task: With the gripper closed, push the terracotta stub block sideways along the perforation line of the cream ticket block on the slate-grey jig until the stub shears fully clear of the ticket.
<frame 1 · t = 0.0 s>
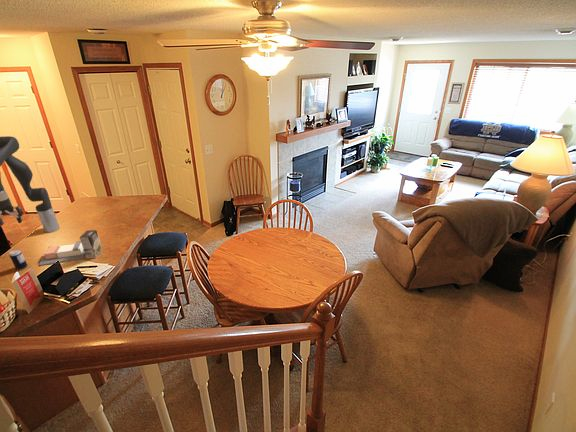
hand: (11, 223, 175), 29 cm above the table, fingers open, 8 cm apart
coffee box: (94, 254, 200), on the table
beverage can: (22, 268, 186), on the table
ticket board: (65, 254, 199), on the table
stub: (52, 252, 195), point 3 cm above the table, slide at 0.0 cm
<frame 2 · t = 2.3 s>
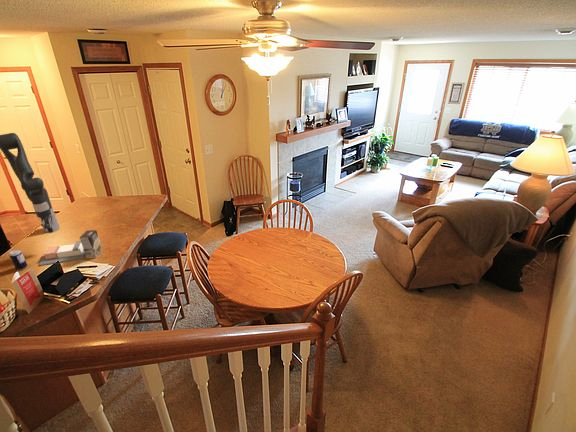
hand: (51, 232, 198), 13 cm above the table, fingers closed
nothing on the table moved.
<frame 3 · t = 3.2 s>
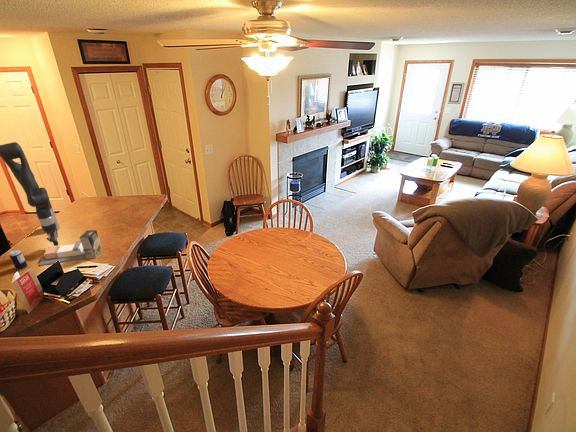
hand: (56, 245, 203), 3 cm above the table, fingers closed
nothing on the table moved.
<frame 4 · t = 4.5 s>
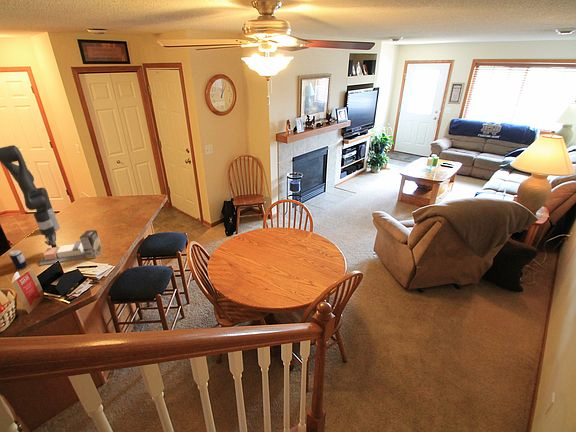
hand: (54, 248, 199), 3 cm above the table, fingers closed
stub: (51, 253, 194), point 3 cm above the table, slide at 1.3 cm, touching gripper
everything else where it was.
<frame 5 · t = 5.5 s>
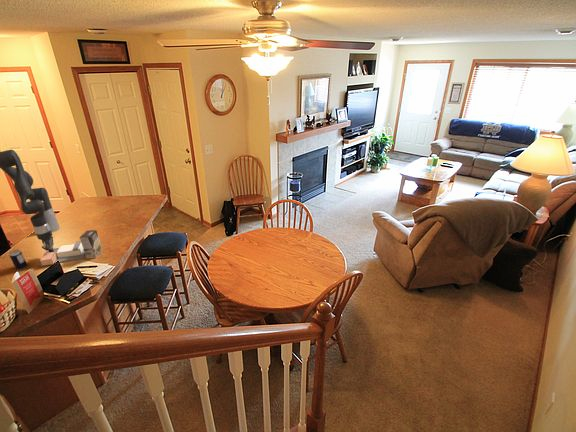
hand: (52, 253, 194), 3 cm above the table, fingers closed
stub: (49, 258, 189), point 3 cm above the table, slide at 7.0 cm, touching gripper
everything else where it was.
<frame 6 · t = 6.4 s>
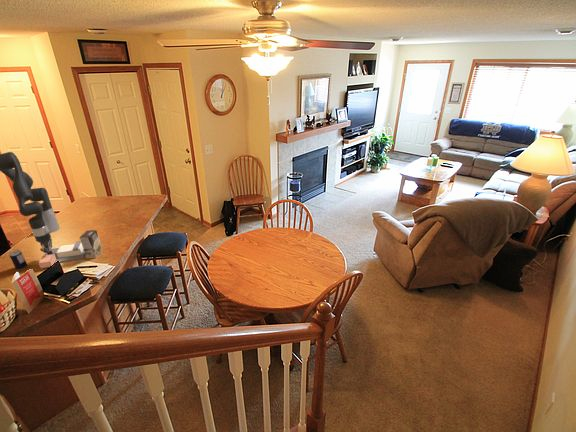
hand: (50, 255, 192), 3 cm above the table, fingers closed
stub: (47, 260, 187), point 3 cm above the table, slide at 9.8 cm, touching gripper
everything else where it was.
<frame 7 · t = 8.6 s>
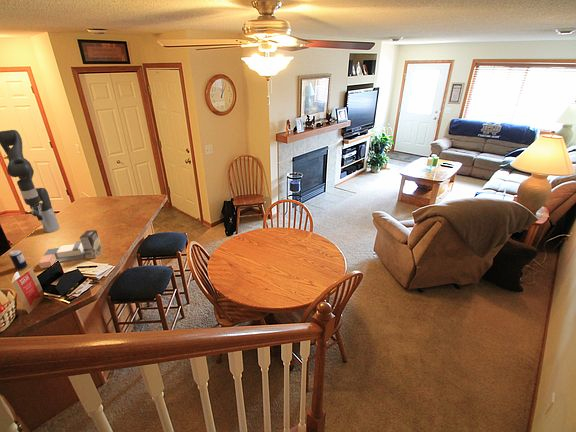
hand: (41, 219, 192), 24 cm above the table, fingers closed
stub: (47, 260, 187), point 3 cm above the table, slide at 9.8 cm
everything else where it was.
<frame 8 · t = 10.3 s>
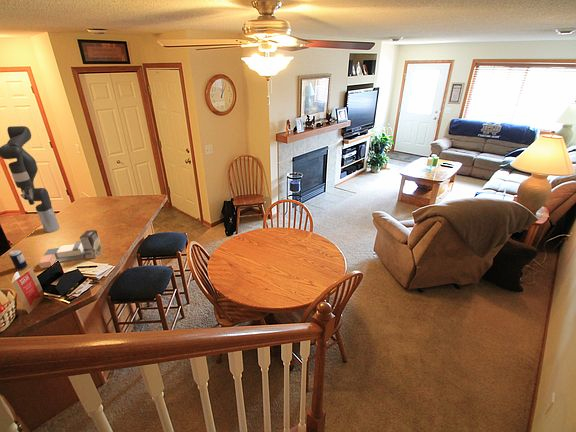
hand: (32, 204, 192), 32 cm above the table, fingers closed
nothing on the table moved.
at the end: stub slide at 9.8 cm; stub touching nothing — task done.
